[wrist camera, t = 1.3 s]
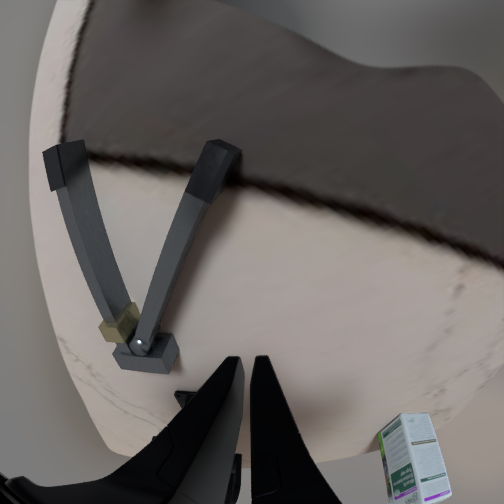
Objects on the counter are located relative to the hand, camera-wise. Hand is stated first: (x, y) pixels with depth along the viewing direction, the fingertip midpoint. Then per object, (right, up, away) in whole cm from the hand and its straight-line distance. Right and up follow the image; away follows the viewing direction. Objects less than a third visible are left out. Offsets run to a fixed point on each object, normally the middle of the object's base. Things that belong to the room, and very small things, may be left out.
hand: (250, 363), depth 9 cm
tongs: (-11, +3, +12) cm, 16 cm away
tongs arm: (-5, +3, +11) cm, 13 cm away
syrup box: (+21, -20, +20) cm, 35 cm away
